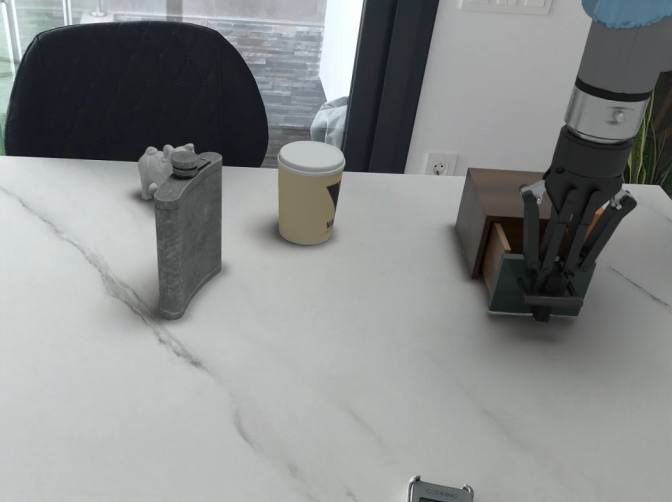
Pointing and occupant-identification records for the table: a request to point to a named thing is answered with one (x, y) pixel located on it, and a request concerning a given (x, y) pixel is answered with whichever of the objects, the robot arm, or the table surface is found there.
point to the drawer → (524, 274)
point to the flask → (188, 229)
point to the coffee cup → (308, 190)
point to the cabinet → (492, 208)
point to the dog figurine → (157, 166)
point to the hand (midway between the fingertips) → (538, 315)
